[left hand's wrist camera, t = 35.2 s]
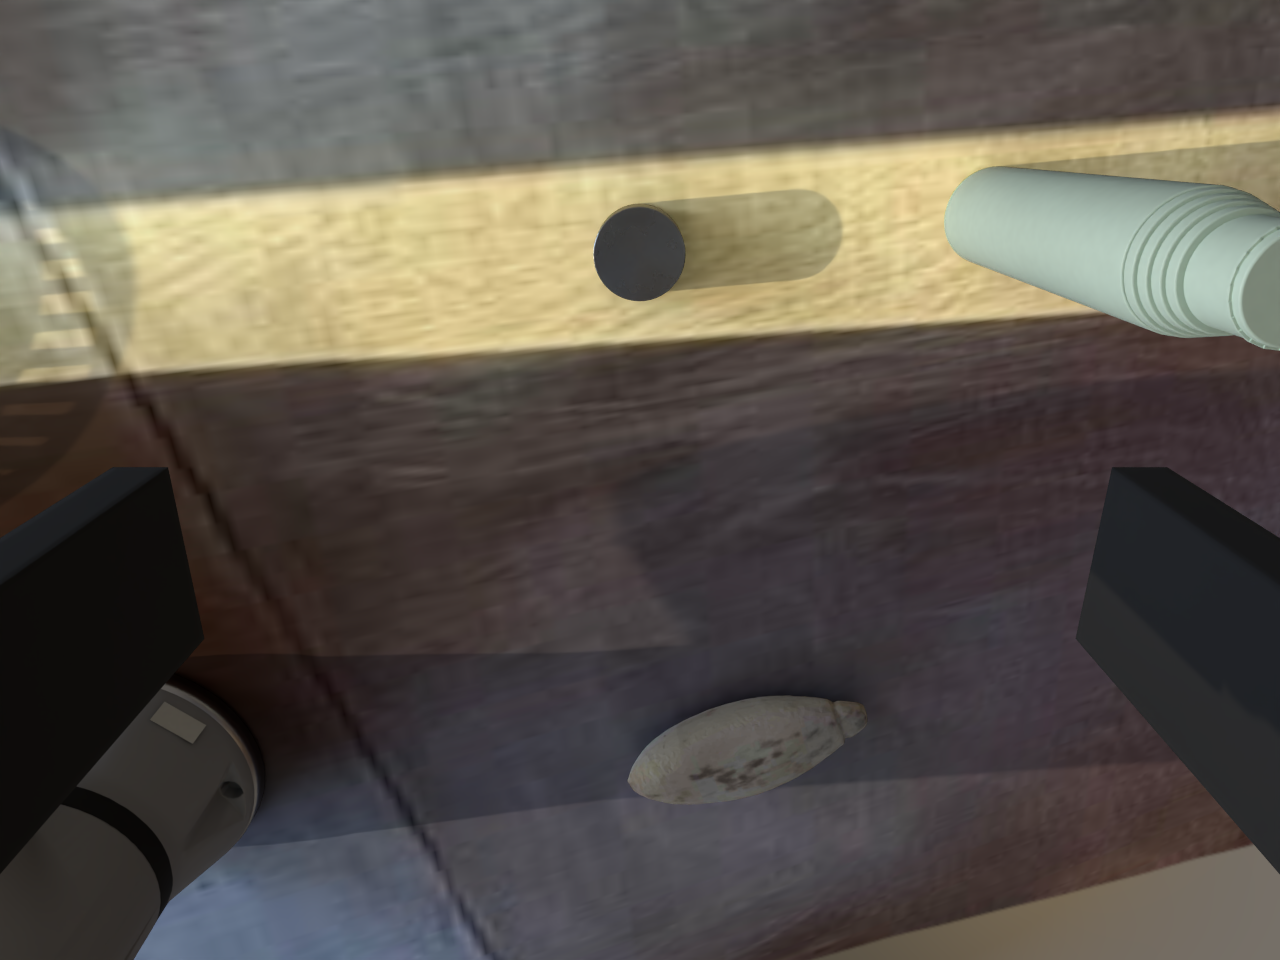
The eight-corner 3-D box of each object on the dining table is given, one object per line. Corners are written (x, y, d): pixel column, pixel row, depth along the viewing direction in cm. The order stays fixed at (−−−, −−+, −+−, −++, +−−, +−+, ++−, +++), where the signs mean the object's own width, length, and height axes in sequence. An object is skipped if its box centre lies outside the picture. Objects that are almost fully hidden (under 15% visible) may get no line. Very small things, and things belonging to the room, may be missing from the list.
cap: (692, 281, 46) (694, 288, 44) (608, 303, 46) (607, 311, 44) (671, 193, 44) (672, 196, 42) (585, 216, 45) (582, 220, 43)
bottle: (990, 282, 46) (1286, 407, 25) (924, 225, 45) (1175, 304, 24) (1058, 207, 44) (1433, 270, 23) (992, 145, 43) (1322, 155, 22)
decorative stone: (872, 733, 56) (886, 769, 53) (647, 800, 58) (647, 839, 55) (846, 657, 54) (860, 689, 51) (614, 730, 56) (612, 765, 53)
